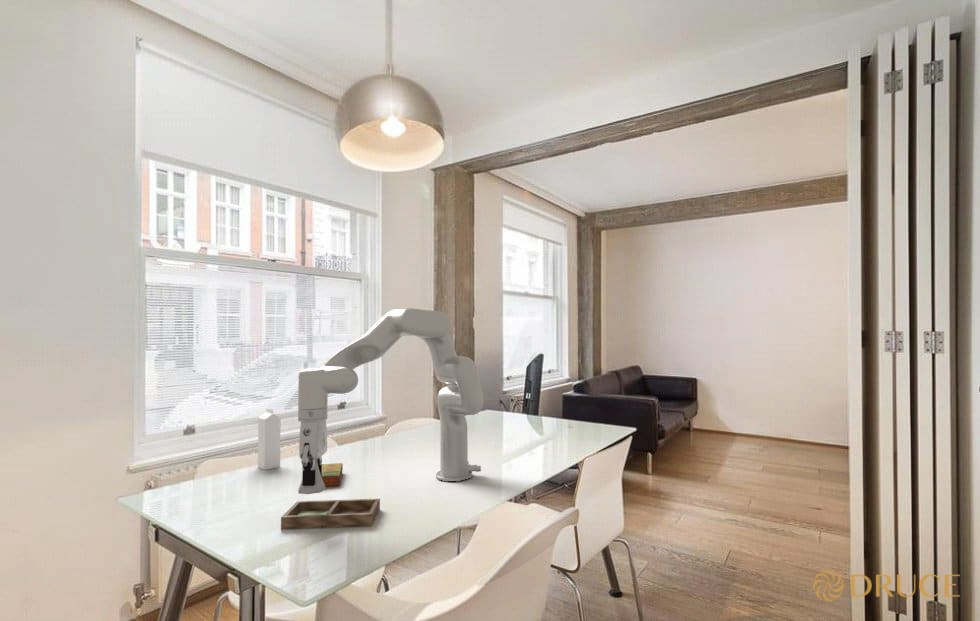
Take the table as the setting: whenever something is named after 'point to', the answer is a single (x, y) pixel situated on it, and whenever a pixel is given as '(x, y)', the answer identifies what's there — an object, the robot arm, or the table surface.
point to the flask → (319, 482)
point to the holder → (331, 514)
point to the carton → (332, 474)
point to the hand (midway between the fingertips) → (312, 481)
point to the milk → (269, 440)
